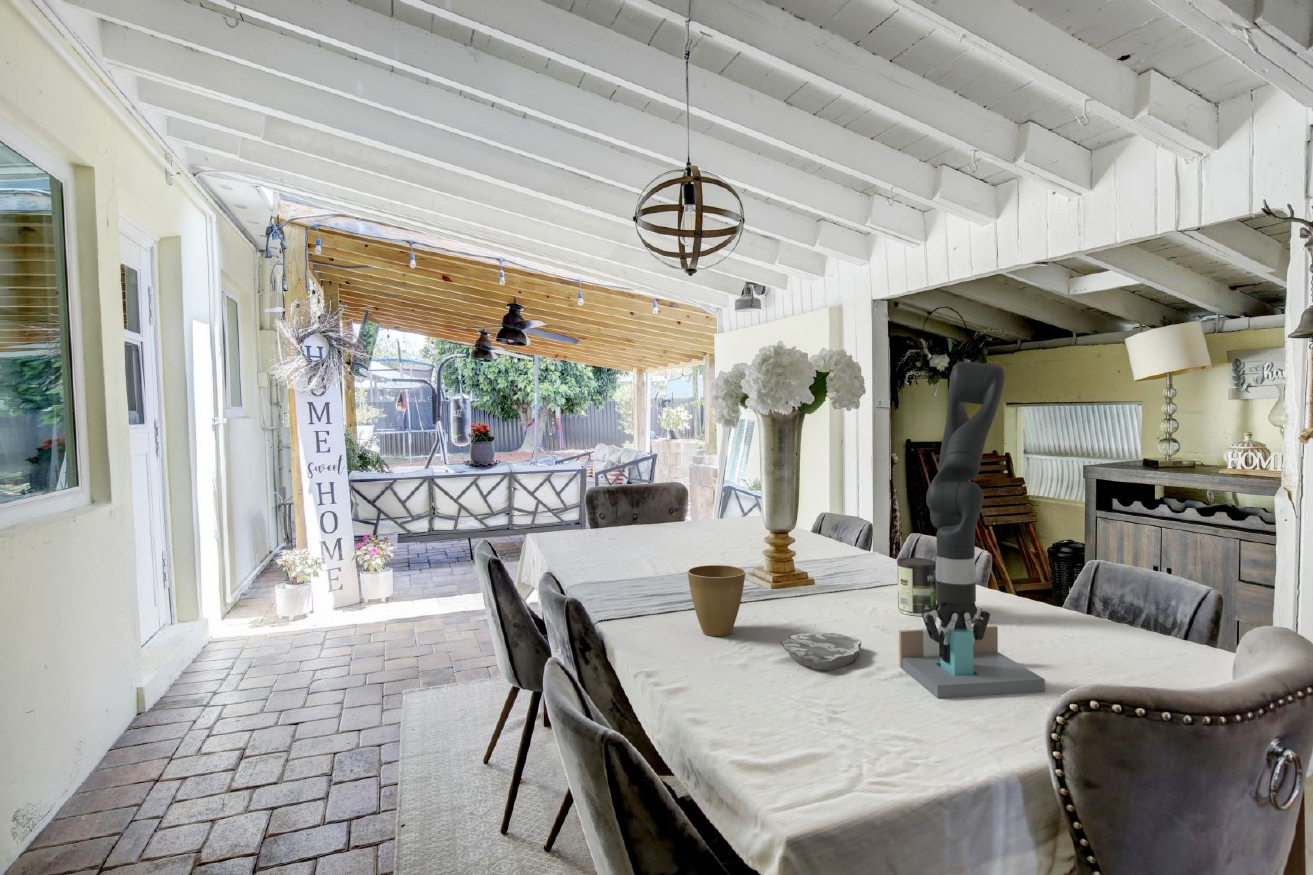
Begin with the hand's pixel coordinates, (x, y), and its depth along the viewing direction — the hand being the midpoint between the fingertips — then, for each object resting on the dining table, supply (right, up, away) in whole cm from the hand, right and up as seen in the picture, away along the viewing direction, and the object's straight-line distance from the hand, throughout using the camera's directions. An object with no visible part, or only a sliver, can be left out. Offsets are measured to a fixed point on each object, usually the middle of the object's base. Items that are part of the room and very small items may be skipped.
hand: (956, 660), depth 137 cm
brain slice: (-24, -5, +16) cm, 29 cm away
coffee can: (+11, -3, +49) cm, 50 cm away
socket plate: (+3, -4, 0) cm, 5 cm away
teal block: (0, -3, 0) cm, 3 cm away
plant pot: (-46, -5, +35) cm, 58 cm away
